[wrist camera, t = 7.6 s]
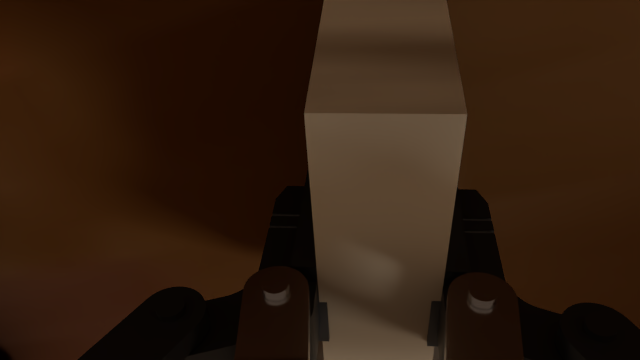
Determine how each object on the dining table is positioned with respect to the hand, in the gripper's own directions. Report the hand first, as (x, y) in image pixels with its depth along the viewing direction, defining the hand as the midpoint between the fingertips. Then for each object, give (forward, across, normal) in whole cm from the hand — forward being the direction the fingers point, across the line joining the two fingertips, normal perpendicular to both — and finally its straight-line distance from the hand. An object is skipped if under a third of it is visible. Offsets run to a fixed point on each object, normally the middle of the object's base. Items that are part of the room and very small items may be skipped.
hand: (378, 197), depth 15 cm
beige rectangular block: (+1, 0, 0) cm, 1 cm away
